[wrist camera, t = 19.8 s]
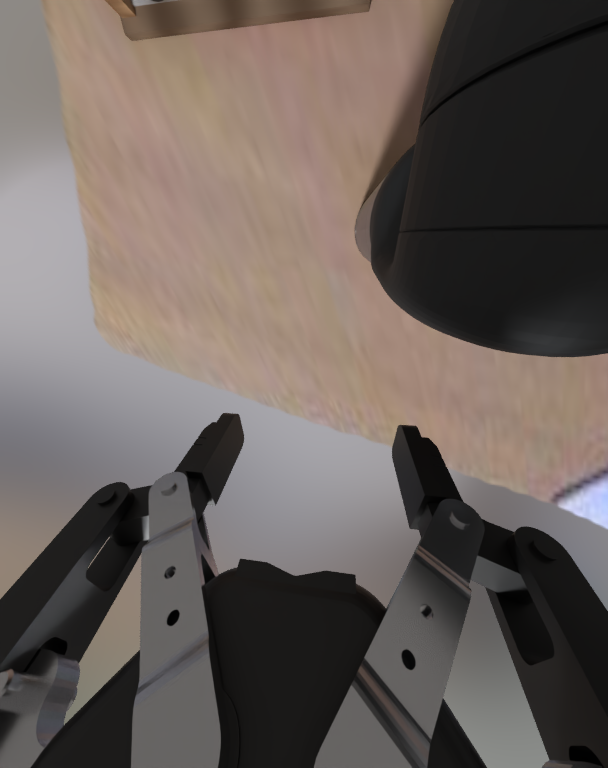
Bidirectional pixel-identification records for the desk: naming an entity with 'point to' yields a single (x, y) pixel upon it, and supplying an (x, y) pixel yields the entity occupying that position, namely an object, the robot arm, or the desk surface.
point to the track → (220, 14)
